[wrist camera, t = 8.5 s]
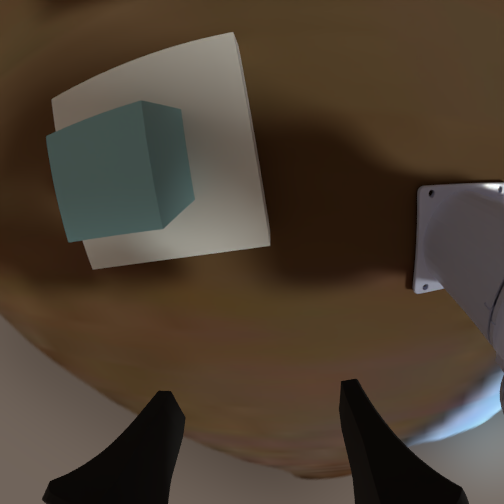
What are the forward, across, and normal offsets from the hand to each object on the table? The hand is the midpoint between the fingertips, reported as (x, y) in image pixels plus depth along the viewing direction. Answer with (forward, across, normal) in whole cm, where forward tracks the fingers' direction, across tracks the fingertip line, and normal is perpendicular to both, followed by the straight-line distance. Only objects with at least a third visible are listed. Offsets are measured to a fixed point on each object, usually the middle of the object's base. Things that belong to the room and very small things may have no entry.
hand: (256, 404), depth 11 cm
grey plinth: (+10, +5, -10) cm, 15 cm away
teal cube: (+7, +5, -10) cm, 13 cm away
